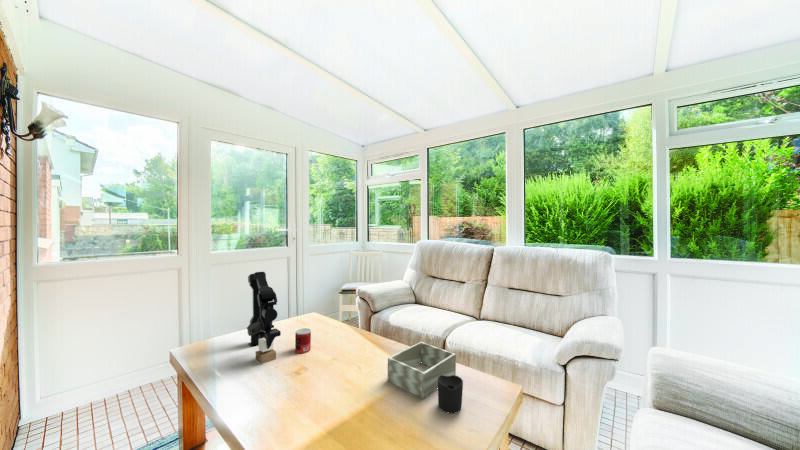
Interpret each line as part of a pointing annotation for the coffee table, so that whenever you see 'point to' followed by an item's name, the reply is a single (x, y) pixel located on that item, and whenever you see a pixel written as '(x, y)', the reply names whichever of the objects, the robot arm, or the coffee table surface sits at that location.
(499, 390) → the coffee table surface
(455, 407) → the pen holder
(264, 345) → the cream cube
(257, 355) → the walnut base
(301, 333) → the canned food
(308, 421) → the coffee table surface
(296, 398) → the coffee table surface
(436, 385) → the toy crate
